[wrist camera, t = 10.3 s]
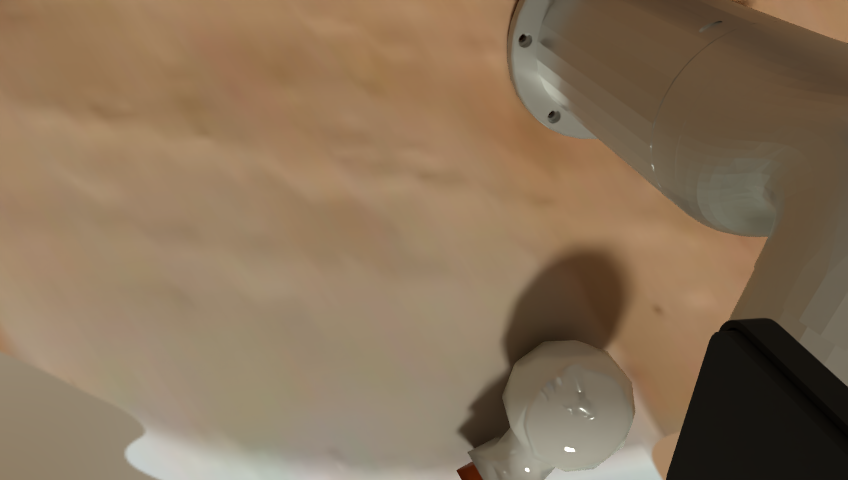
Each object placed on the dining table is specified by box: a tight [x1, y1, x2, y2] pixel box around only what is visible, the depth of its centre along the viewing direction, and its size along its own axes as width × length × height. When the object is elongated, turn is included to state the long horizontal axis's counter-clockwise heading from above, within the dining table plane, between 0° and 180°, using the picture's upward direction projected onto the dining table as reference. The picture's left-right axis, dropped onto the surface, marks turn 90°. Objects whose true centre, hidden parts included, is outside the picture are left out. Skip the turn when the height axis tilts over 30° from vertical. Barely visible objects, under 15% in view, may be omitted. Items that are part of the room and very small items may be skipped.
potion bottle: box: [457, 340, 635, 480], centre depth 59 cm, size 9×10×15 cm
